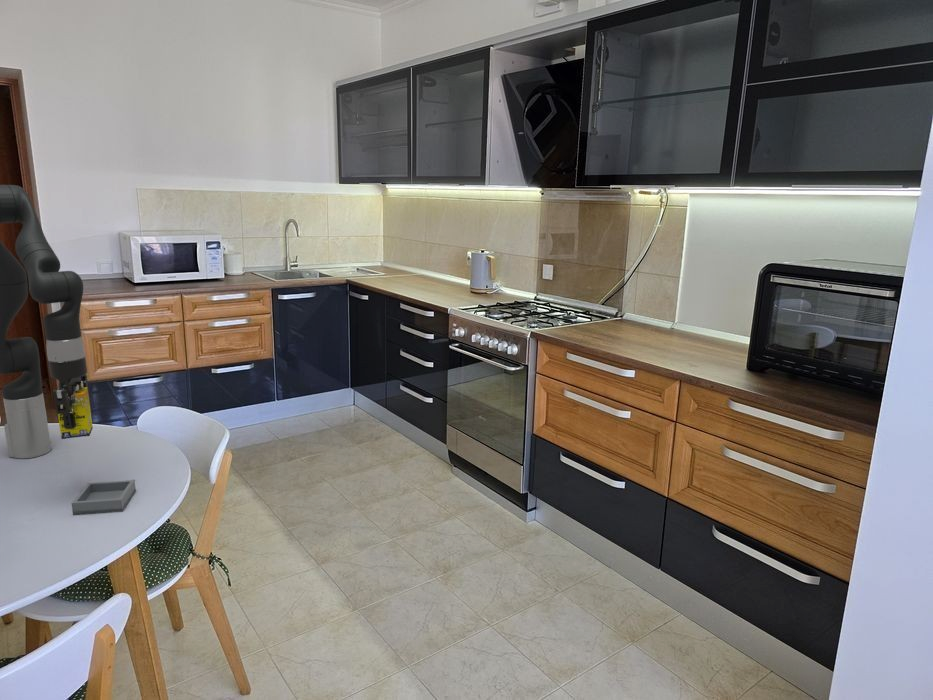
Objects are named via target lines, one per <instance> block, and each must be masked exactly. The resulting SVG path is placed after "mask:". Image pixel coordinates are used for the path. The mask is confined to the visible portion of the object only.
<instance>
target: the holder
mask: <svg viewBox="0 0 933 700" xmlns="http://www.w3.org/2000/svg"><path fill="white" fill-rule="evenodd" d="M136 491H137V489H136V482H135V479H130V480H113V481H99V482H98V481H97V482H87V484H85V486H84V488H82V489H81V491H80V492H79V493H78V494H77V496H76V497H75V498H74V500H73V501H72V502H71V511H72V515H73V516H77V515H78V516H80V515H91V514H92V515H93V514H105V513H107V514H108V513H118V512H124V511H125V508H126V507H127V506H128V503H130V501H131V499H132V498H133V496H134V495H135V493H136Z"/></svg>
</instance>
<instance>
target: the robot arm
mask: <svg viewBox="0 0 933 700" xmlns="http://www.w3.org/2000/svg"><path fill="white" fill-rule="evenodd" d="M14 223H21V224H22V227H21V229H20V231H19V233H18V235H17V237H16V240H15V243H14V247H15V248H14V249H15V252H16V255H17V258H18V259H19V260H18V259H17V258H16V257H15V255H14V254H13V253H12V252H11V251H10V250H9V249H8V248H7V246H6V245H5V244H4V243H3V241H2V239H0V375H7V374H14V373H18V372H22V373H21V375H20V376H18V377H17V378H16V379H15V380H13V381H11V382H8V383H7V384H5V385H4V386H3V387H2V388H1V394H2V395H1V396H2V399H3V406H4V410H5V411H4V412H5V418H6V419H5V420H6V423H4V425H3V427H4V434H5V440H6V446H7V452H8V457H9V458H15V459H31V458H37V457H40V456H43V455H45V454H48V453H49V452H51V450H52V445H51V443H52V442H51V439H50V438H51V437H50V431H49V429H50V428H49V424H48V417H47V411H46V410H47V409H46V406H45V404H46V403H45V398H44V393H43V392H44V391H43V380H42V374H41V371H42V370H41V360H40V359H41V358H40V352H39V346H38V344H37V342H36V341H35V339H34V338H33V337H31V336H24V337H15V338H8V339H7V334H8V330H9V329H10V326H11V324H12V322H13V320H14V319H15V317H16V316H17V315H18V313H19V312H20V310H21V309H22V308H23V306H24V305H25V302H26V301H27V299H28V295H29V294H30V296H31V299H32V300H34V301H36V302H37V303H39V304H43V305H46V304H49V305H50V304H57V303H63V305H62V307H61V308H60V309H59V310H56V311H53V312H51V313H48V314H46V315H45V316H43V327H44V333H45V340H46V341H45V342H46V343H45V345H46V346H45V347H46V348H45V349H46V357H47V363H48V368H49V375H50V378H51V379H53V380H54V379H55V380H58V388H57V389H53V391H52V395H53V399H54V405H55V411H56V414H57V415H58V414H63V420H64V427H65V429H74V428H75V427H76V423H75V416H74V404H76V397H75V394H76V393H77V392H78V391H79V389H83V388H84V387H87V388H88V389H89V386H88V385H89V384H88V376H87V374H88V366H87V361H86V360H87V359H86V352H85V345H84V341H83V338H82V332H81V325H80V324H81V323H80V313H81V304H82V299H83V295H84V282H83V280H82V277H81V276H80V275H79V274H78V273H77V272H75V271H73V270H64V271H63V270H61V271H60V269H61V262H60V260H59V258H58V256H57V254H56V253H55V252H54V250H53V248H52V247H51V245H50V244H49V242H48V240H47V238H46V236H45V233H44V231H43V229H42V226H41V222H40V220H39V217H38V215H37V212H36V210H35V207H34V205H33V202H32V200H31V198H30V196H29V194H28V193H27V191H26V190H25V189H24V188H23V187H22V186H20V185H15V184H0V224H14ZM72 394H73V398H72V400H68V396H71V395H72ZM88 395H90V394H89V392H88ZM69 404H70V406H69ZM60 405H61V408H60ZM64 405H65V406H64Z"/></svg>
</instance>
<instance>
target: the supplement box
mask: <svg viewBox="0 0 933 700" xmlns="http://www.w3.org/2000/svg"><path fill="white" fill-rule="evenodd" d="M88 393H89V387H88V388H87V387H84V388H83V389H79V391H78V392H77V393H76V394H75V397H76V404H74V416H75V423H76V427H75V428H74V429H65V427H64V420H63V414H57V417H58V419H57V420H58V423H59V425H58V426H59V432H60V438H61V440H65V439H71V438H72V439H74V438H81V437H90V436H91V433H92V430H93V419H92V413H91V412H92V411H91V404H90V403H91V402H90V396H89V395H90V394H89V395H88ZM72 398H73V394H72V395H71V396H68V400H72ZM64 406H65V405H64ZM69 406H70V404H69ZM60 408H61V405H60Z"/></svg>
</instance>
